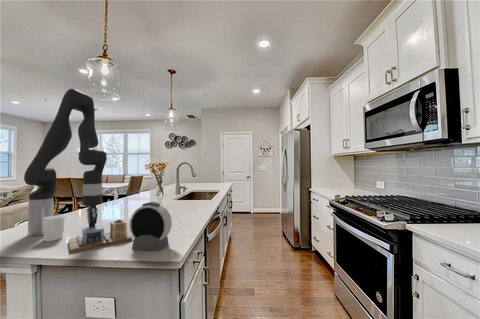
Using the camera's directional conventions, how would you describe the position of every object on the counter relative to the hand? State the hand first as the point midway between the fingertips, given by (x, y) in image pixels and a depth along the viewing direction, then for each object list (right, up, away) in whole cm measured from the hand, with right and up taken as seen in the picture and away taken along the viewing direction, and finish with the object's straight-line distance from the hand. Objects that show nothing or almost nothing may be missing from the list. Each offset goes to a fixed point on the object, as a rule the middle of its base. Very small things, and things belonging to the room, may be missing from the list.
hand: (91, 232), depth 100 cm
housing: (+3, -2, -4) cm, 6 cm away
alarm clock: (+29, -4, -8) cm, 30 cm away
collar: (+10, -2, +3) cm, 11 cm away
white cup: (-19, -4, +3) cm, 20 cm away
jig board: (+5, -4, -2) cm, 6 cm away
